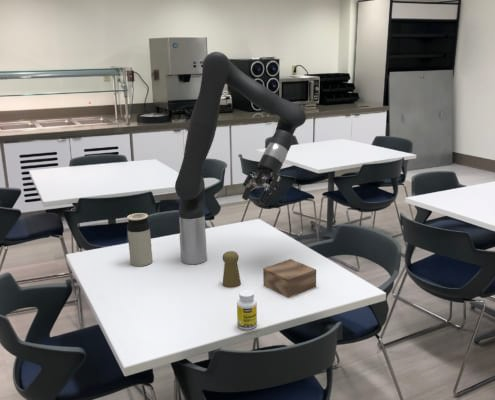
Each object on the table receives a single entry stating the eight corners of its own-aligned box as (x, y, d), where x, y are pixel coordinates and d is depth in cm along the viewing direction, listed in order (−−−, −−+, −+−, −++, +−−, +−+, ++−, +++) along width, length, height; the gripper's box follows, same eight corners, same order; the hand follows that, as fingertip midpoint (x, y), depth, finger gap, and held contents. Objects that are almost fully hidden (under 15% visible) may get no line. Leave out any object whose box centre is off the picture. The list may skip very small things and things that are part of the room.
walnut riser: (263, 285, 166) (263, 268, 165) (290, 275, 173) (290, 258, 172) (288, 297, 157) (288, 279, 156) (316, 286, 164) (316, 269, 163)
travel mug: (155, 258, 192) (151, 212, 187) (149, 267, 184) (145, 219, 179) (134, 258, 193) (130, 212, 188) (127, 266, 185) (123, 219, 180)
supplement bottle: (243, 332, 138) (241, 299, 136) (234, 323, 143) (232, 291, 140) (260, 327, 140) (259, 294, 138) (251, 318, 145) (250, 287, 143)
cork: (238, 288, 165) (237, 256, 162) (220, 287, 166) (219, 255, 163) (242, 280, 171) (241, 249, 168) (225, 279, 172) (223, 248, 169)
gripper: (252, 152, 176) (231, 193, 173) (281, 154, 166) (259, 198, 162) (265, 163, 181) (245, 203, 178) (294, 166, 170) (274, 209, 167)
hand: (252, 201), depth 170 cm, fingers open, 8 cm apart
